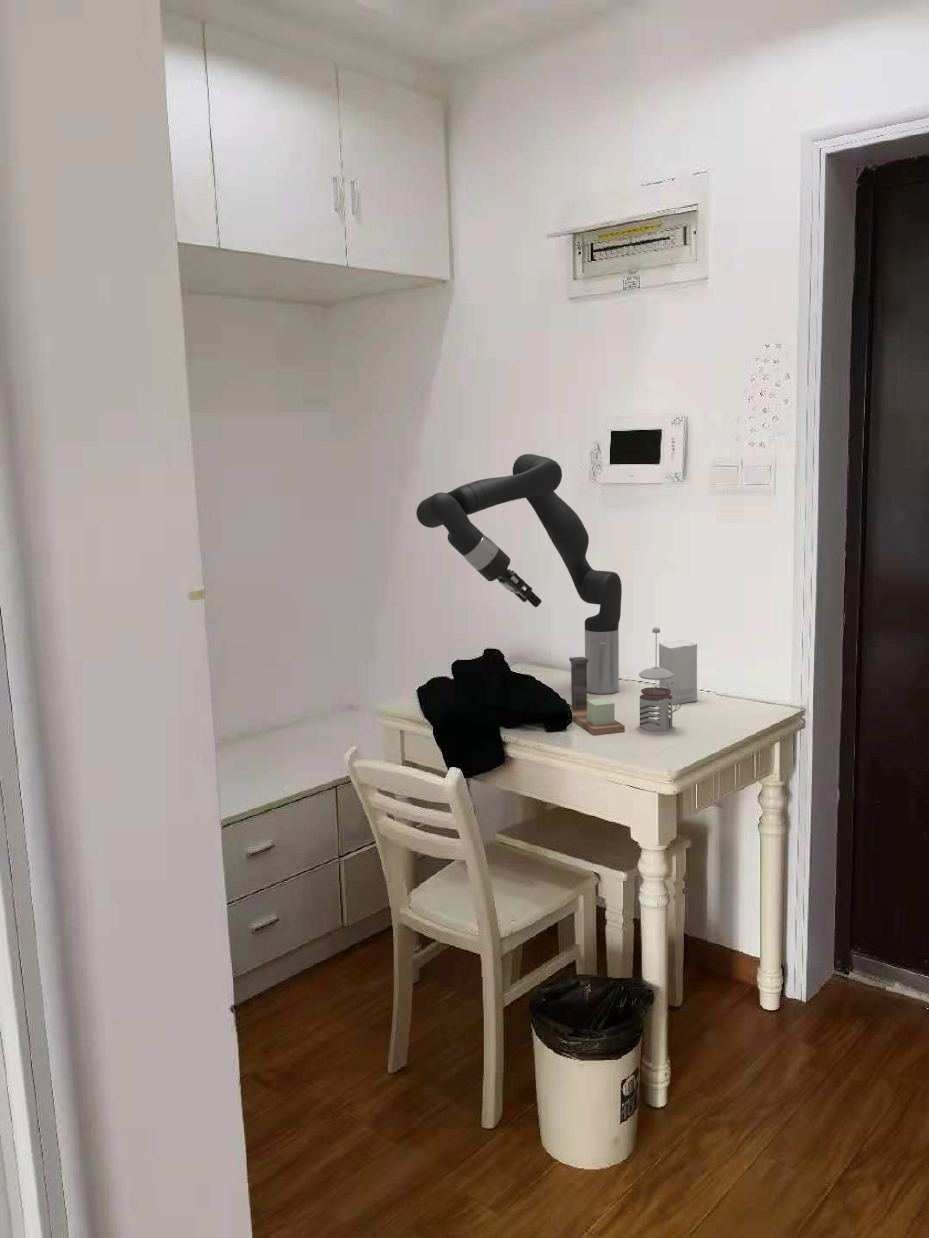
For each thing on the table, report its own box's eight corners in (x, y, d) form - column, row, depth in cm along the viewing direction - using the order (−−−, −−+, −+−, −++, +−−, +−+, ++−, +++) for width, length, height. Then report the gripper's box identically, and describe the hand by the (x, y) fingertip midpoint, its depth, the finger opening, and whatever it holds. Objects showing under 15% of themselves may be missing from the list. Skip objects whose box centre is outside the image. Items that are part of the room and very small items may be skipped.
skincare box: (685, 696, 280) (685, 639, 278) (698, 702, 274) (699, 643, 272) (657, 699, 278) (657, 642, 275) (670, 705, 272) (670, 646, 269)
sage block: (587, 720, 254) (586, 700, 253) (606, 718, 255) (606, 698, 254) (595, 725, 249) (594, 705, 248) (614, 723, 250) (614, 703, 249)
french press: (650, 722, 257) (650, 622, 252) (691, 730, 249) (692, 627, 244) (626, 731, 250) (626, 628, 246) (668, 739, 242) (668, 633, 238)
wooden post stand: (560, 712, 268) (559, 657, 265) (589, 709, 270) (589, 655, 267) (593, 735, 247) (592, 676, 244) (624, 731, 249) (624, 673, 246)
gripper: (505, 548, 241) (553, 594, 246) (487, 542, 254) (533, 586, 259) (484, 572, 240) (532, 618, 245) (467, 565, 254) (513, 609, 259)
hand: (532, 601), depth 252 cm, fingers open, 8 cm apart
